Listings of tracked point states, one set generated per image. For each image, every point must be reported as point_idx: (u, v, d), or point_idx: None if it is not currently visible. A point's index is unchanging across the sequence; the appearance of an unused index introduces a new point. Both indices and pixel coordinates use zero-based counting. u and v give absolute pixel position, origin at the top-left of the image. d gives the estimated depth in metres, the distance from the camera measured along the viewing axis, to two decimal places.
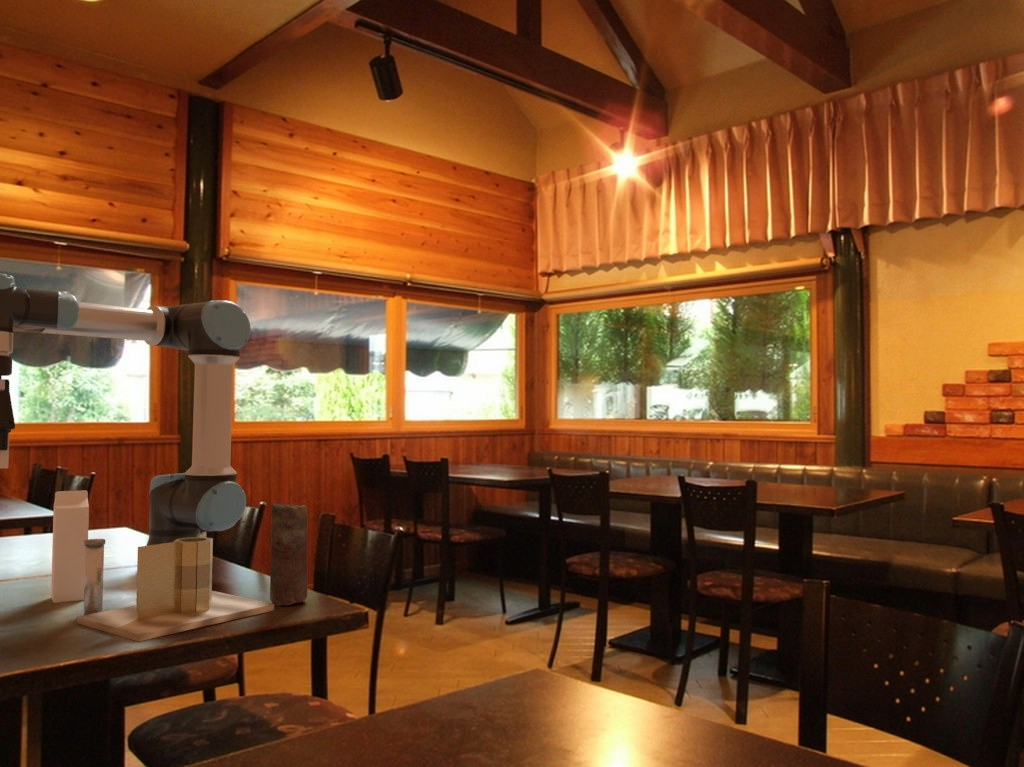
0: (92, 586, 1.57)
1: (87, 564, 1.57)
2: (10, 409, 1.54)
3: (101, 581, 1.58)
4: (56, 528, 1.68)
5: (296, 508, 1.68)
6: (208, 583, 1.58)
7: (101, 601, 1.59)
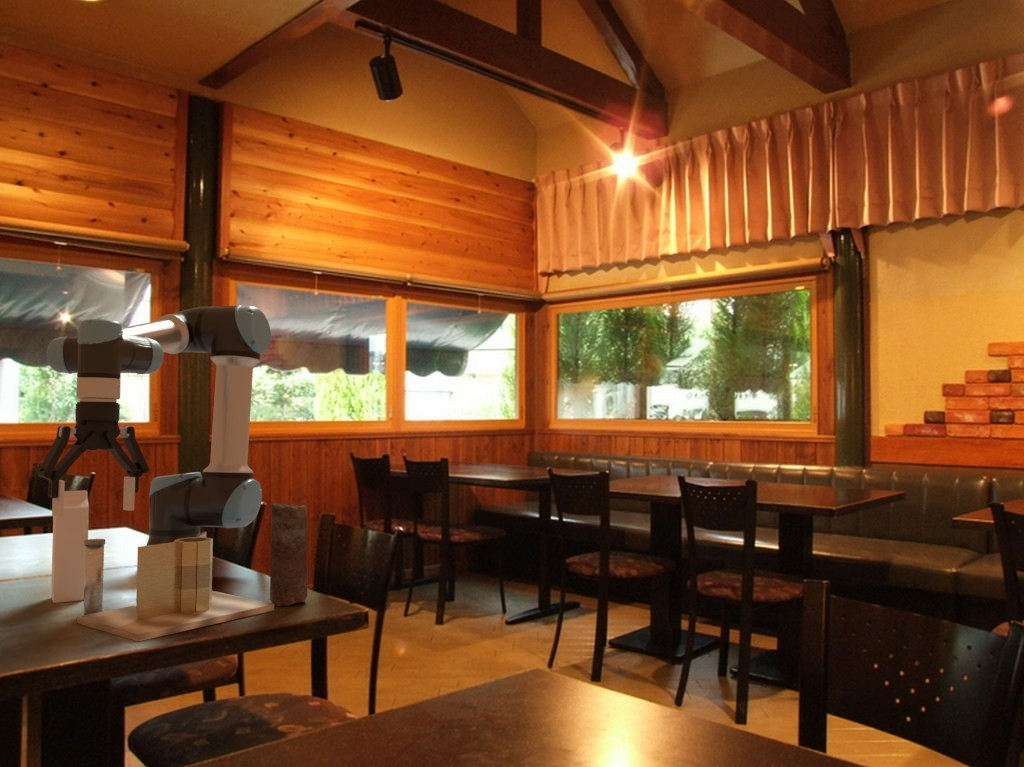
0: (92, 586, 1.57)
1: (87, 564, 1.57)
2: (51, 457, 1.52)
3: (101, 581, 1.58)
4: (56, 528, 1.68)
5: (296, 508, 1.68)
6: (208, 583, 1.58)
7: (101, 601, 1.59)
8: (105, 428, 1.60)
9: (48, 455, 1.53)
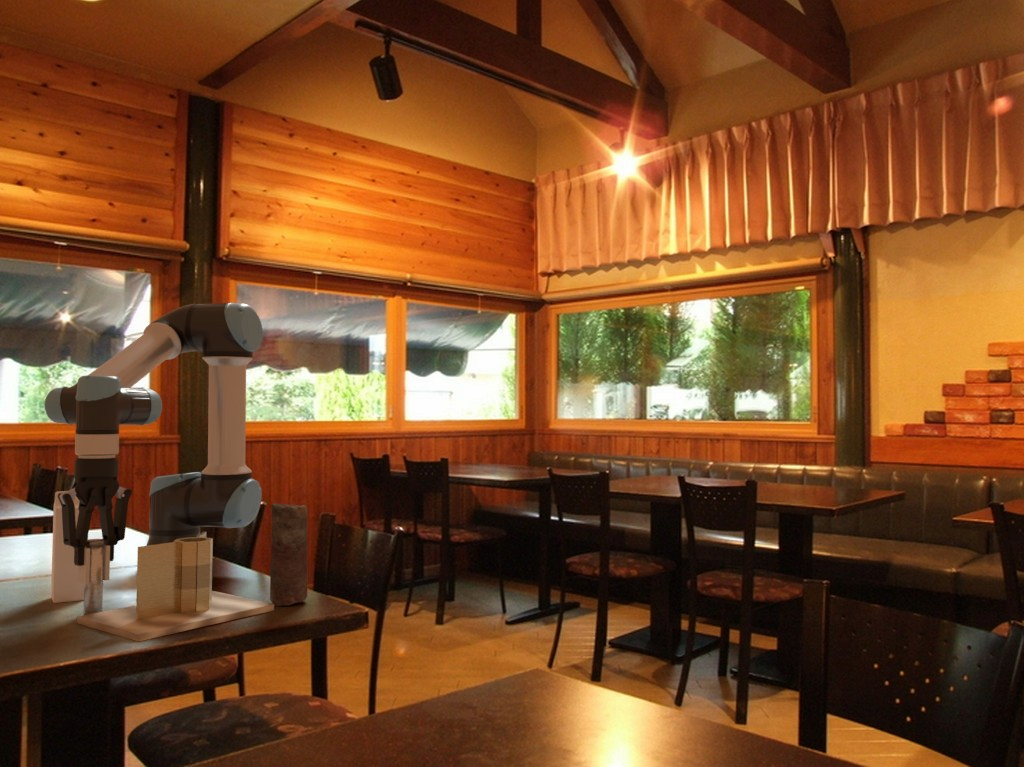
0: (92, 586, 1.57)
1: None
2: (68, 526, 1.54)
3: (101, 581, 1.58)
4: (56, 528, 1.68)
5: (296, 508, 1.68)
6: (208, 583, 1.58)
7: (101, 601, 1.59)
8: (107, 478, 1.60)
9: (64, 524, 1.55)
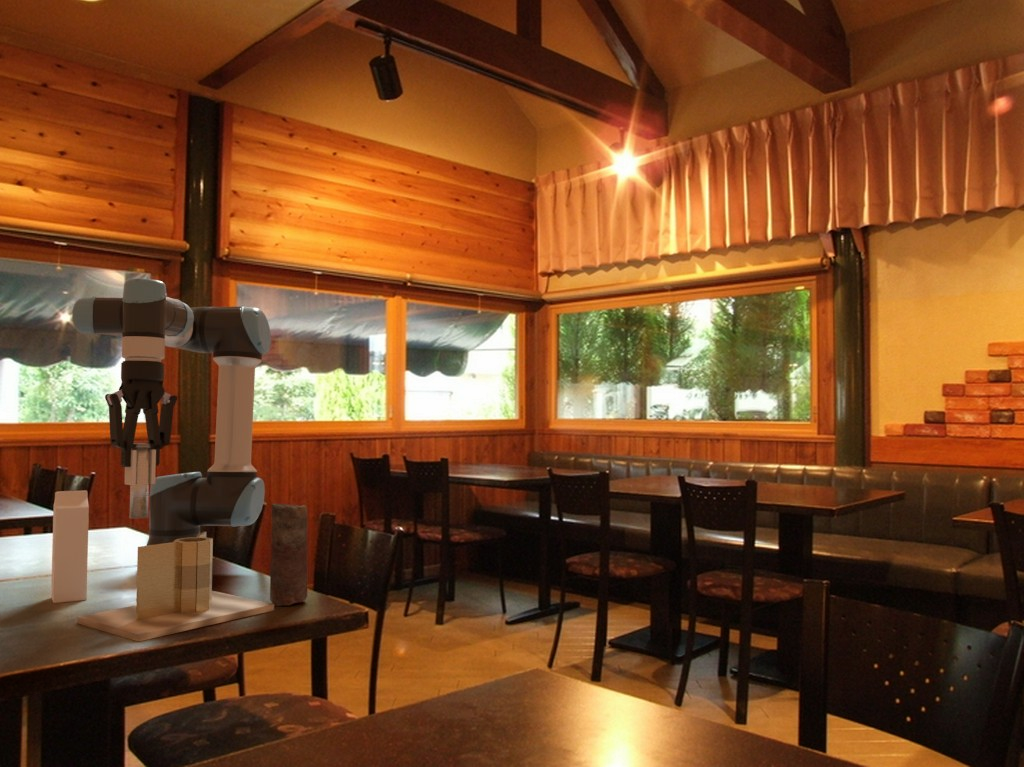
0: (138, 488, 1.58)
1: None
2: (115, 427, 1.55)
3: (147, 484, 1.59)
4: (56, 528, 1.68)
5: (296, 508, 1.68)
6: (208, 583, 1.58)
7: (147, 504, 1.59)
8: (153, 382, 1.61)
9: (111, 425, 1.56)
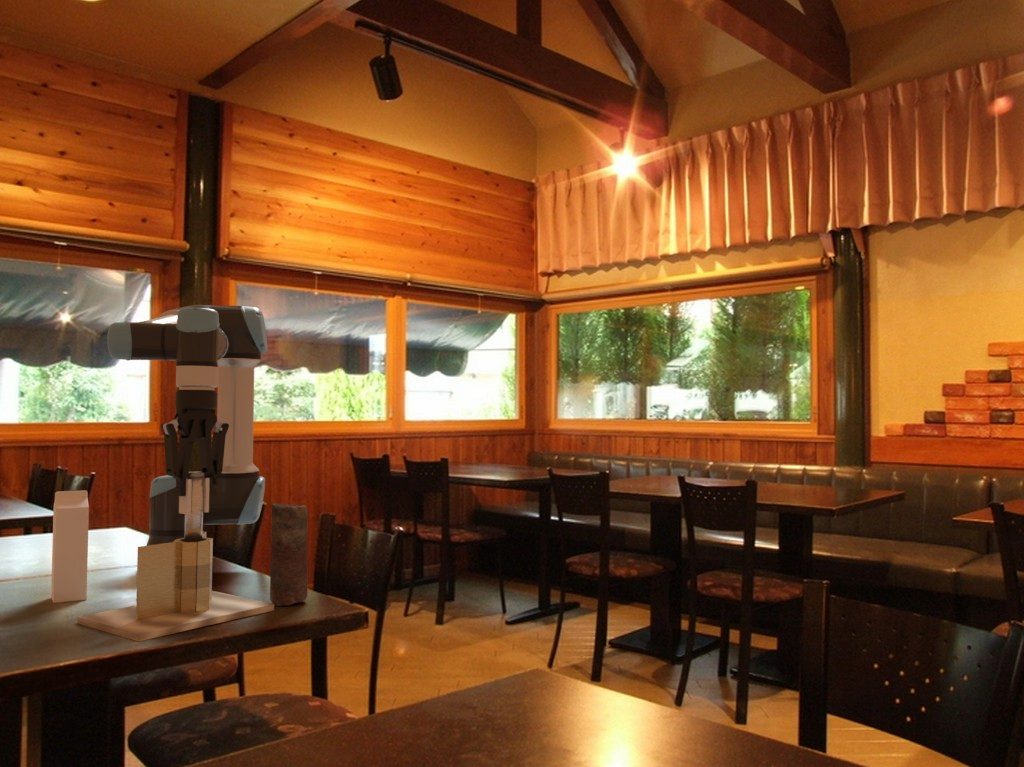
0: (193, 517, 1.58)
1: None
2: (171, 456, 1.55)
3: (201, 513, 1.59)
4: (56, 528, 1.68)
5: (296, 508, 1.68)
6: (208, 583, 1.58)
7: (201, 533, 1.59)
8: (206, 411, 1.61)
9: (167, 455, 1.56)
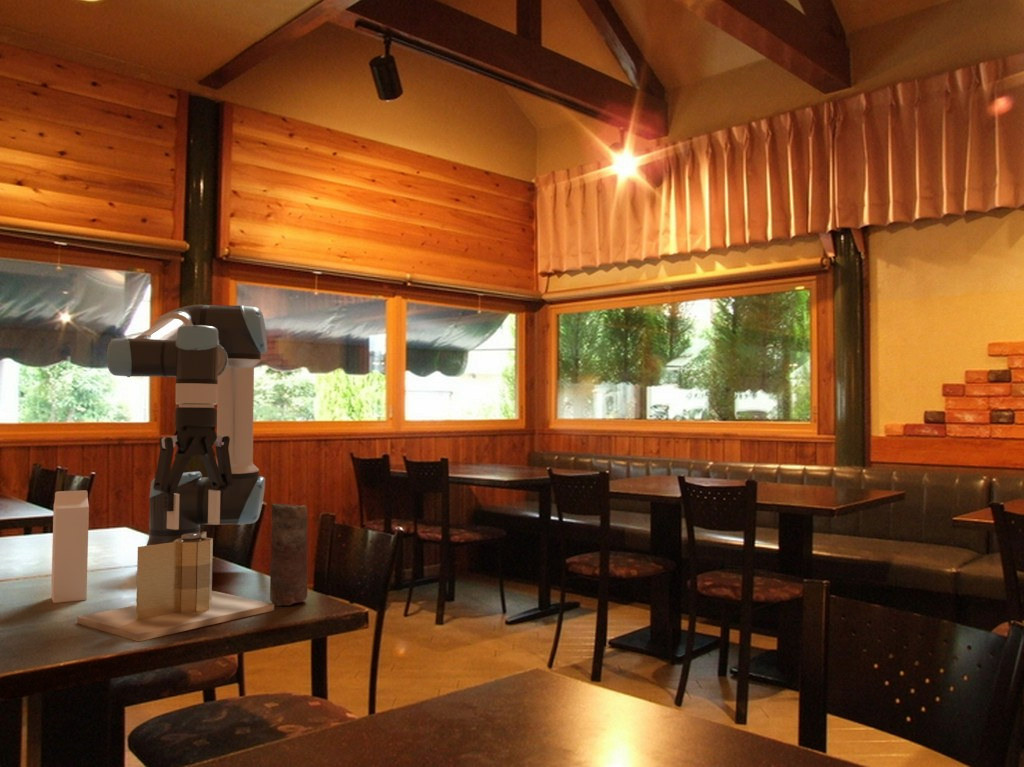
0: None
1: None
2: (163, 470, 1.53)
3: None
4: (56, 528, 1.68)
5: (296, 508, 1.68)
6: (208, 583, 1.58)
7: None
8: (204, 431, 1.60)
9: (158, 468, 1.54)
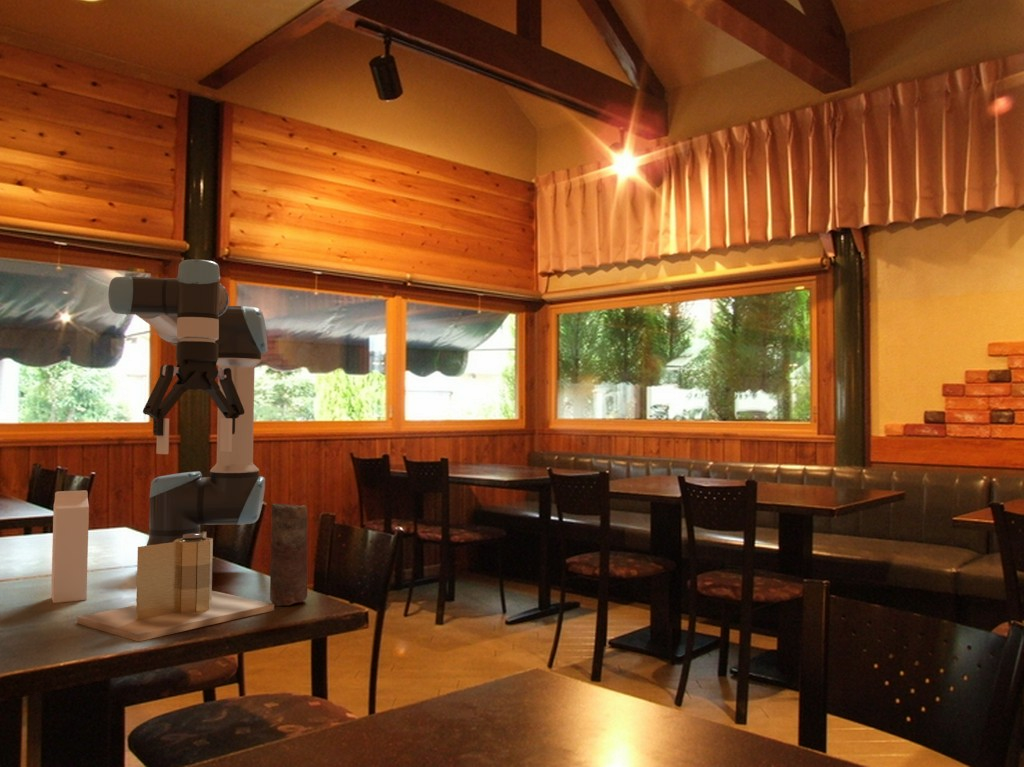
0: None
1: None
2: (157, 394, 1.53)
3: None
4: (56, 528, 1.68)
5: (296, 508, 1.68)
6: (208, 583, 1.58)
7: None
8: (205, 368, 1.61)
9: (153, 393, 1.54)
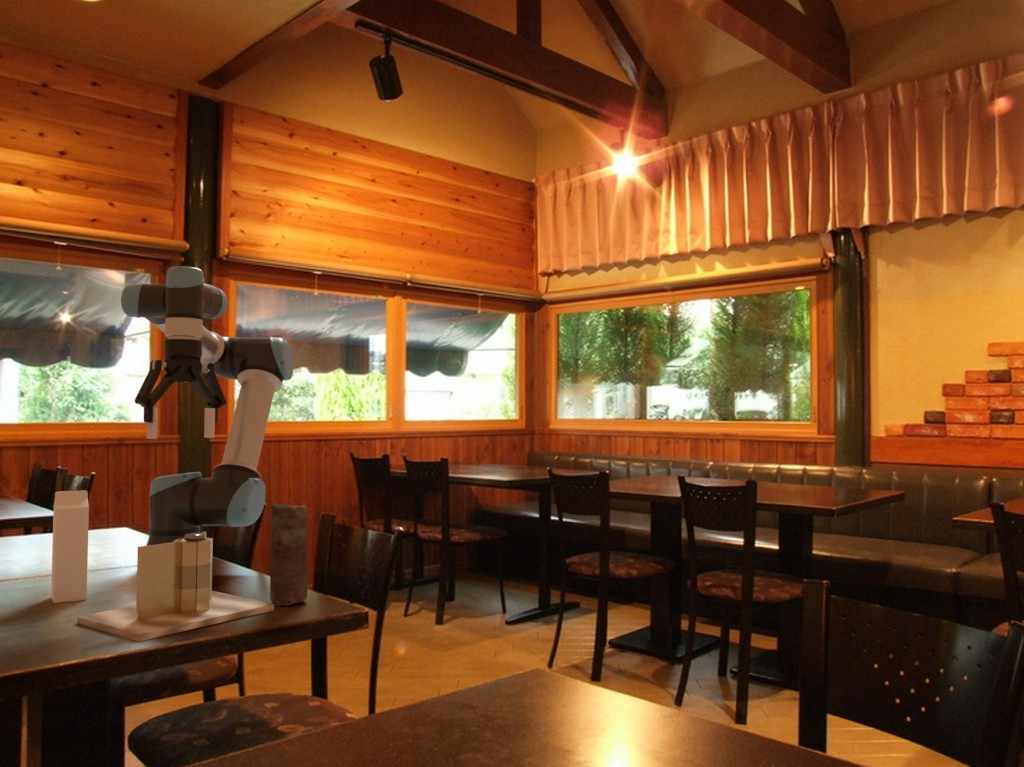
0: None
1: None
2: (147, 386, 1.72)
3: None
4: (56, 528, 1.68)
5: (296, 508, 1.68)
6: (208, 583, 1.58)
7: None
8: (190, 363, 1.80)
9: (143, 385, 1.73)
